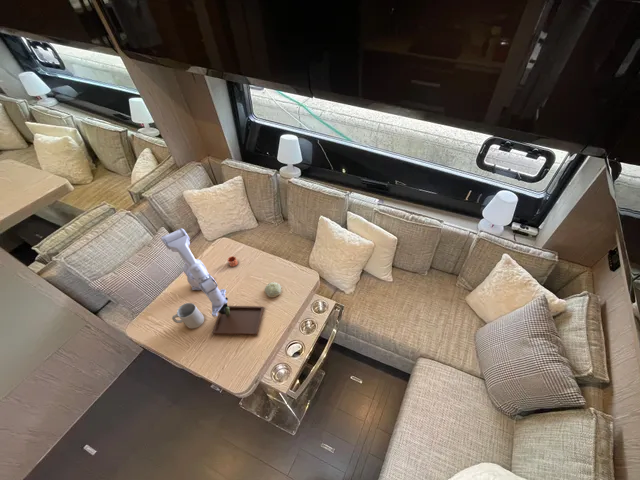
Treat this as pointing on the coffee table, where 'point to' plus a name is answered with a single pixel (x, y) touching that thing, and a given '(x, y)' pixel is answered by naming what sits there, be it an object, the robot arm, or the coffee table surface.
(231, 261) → the cup
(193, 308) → the mug
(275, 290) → the sea urchin shell
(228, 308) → the muddler
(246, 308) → the tray
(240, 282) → the coffee table surface
